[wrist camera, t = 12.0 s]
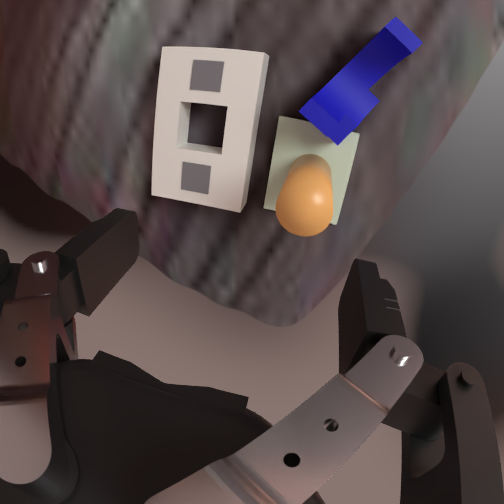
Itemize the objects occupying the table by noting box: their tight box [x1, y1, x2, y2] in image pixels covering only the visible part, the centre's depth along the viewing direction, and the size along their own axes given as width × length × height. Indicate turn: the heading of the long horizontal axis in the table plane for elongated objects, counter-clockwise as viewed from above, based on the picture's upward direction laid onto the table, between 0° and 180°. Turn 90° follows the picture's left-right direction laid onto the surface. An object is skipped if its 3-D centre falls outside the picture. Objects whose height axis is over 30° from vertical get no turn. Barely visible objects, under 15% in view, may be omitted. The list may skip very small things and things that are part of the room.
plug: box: [276, 154, 333, 236], centre depth 27 cm, size 4×4×10 cm
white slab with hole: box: [152, 47, 269, 212], centre depth 30 cm, size 16×10×3 cm, turn 171°
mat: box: [264, 116, 359, 225], centre depth 31 cm, size 10×8×1 cm
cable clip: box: [299, 17, 422, 146], centre depth 23 cm, size 12×4×6 cm, turn 140°
